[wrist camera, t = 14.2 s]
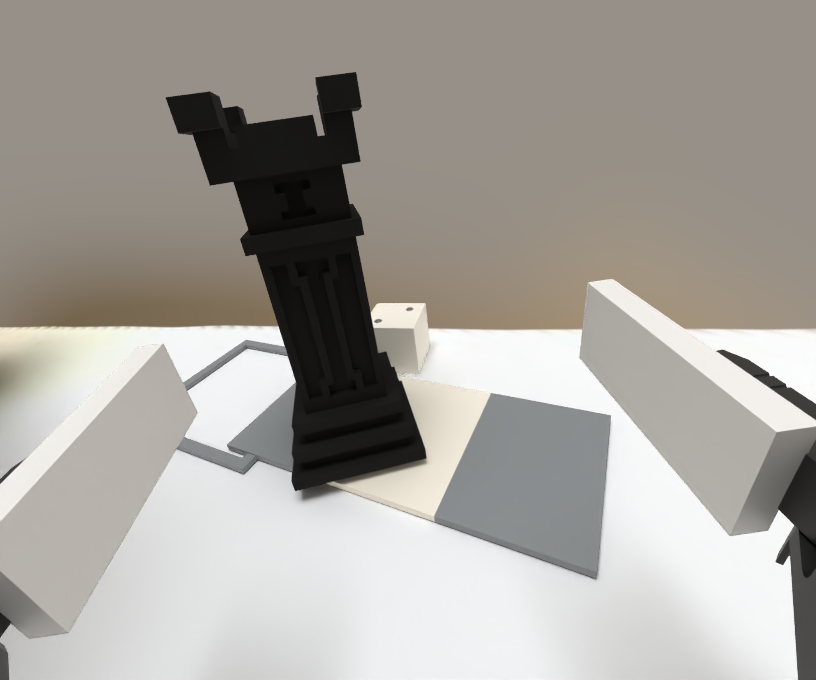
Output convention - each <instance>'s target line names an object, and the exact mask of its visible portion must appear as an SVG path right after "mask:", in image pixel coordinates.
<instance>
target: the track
mask: <svg viewBox="0 0 816 680" xmlns="http://www.w3.org/2000/svg"><path fill="white" fill-rule="evenodd" d="M398 379H399V381H401V380H402V383H403V386H404V389H405V392H406V395H407V398H408V400H409V403H410V406H411V409H412V412H413V415H414V418H415V420H416V423H417V426H418V429H419V432H420V435H421V438H422V441H423V443H424V446H425V450H426V457H427V458H426V459H422V460H418V461H414V462H410V463H406V464H402V465H398V466H394V467H390V468H386V469H382V470H378V471H374V472H370V473H366V474H362V475H358V476H354V477H350V478H346V479H342V480H338V481H334V482H330V483H326V484H328V485H331V486H334V487H336V488H339V489H342V490H345V491H348V492H351V493H354V494H356V495H359V496H362V497H365V498H368V499H371V500H373V501H376V502H379V503H382V504H385V505H388V506H391V507H393V508H396V509H399V510H402V511H405V512H408V513H410V514H413V515H416V516H419V517H422V518H425V519H428V520H430V521H433V522H436V523H439V524H442V525H445V526H447V527H450V528H453V529H456V530H459V531H462V532H465V533H467V534H470V535H473V536H476V537H479V538H482V539H484V540H487V541H490V542H493V543H496V544H499V545H502V546H504V547H507V548H510V549H513V550H516V551H519V552H521V553H524V554H527V555H530V556H533V557H536V558H539V559H541V560H544V561H547V562H550V563H553V564H556V565H558V566H561V567H564V568H567V569H570V570H573V571H576V572H578V573H581V574H584V575H587V576H590V577H593V578H595V579H596V576H597V570H598V559H599V547H600V535H601V524H602V512H603V501H604V489H605V477H606V466H607V454H608V443H609V431H610V419H611V415H606V414H600V413H595V412H590V411H584V410H579V409H574V408H568V407H563V406H558V405H552V404H547V403H541V402H536V401H531V400H525V399H520V398H515V397H509V396H504V395H499V394H493V393H488V392H483V391H477V390H472V389H467V388H461V387H456V386H451V385H445V384H440V383H435V382H429V381H424V380H419V379H413V378H408V377H402V376H398ZM295 389H296V383H295V384H294V385H293V386H291V387H290V388H289V389H288V390H287V391H286V392H285V393H284V394H283V395H281V396H280V397H279V398H278V399H277V400H276V401H275V402H274V403H273V404H272V405H270V406H269V407H268V408H267V409H266V410H265V411H264V412H263V413H262V414H260V415H259V416H258V417H257V418H256V419H255V420H254V421H253V422H252V423H251V424H249V425H248V426H247V427H246V428H245V429H244V430H243V431H242V432H241V433H239V434H238V435H237V436H236V437H235V438H234V439H233V440H232V441H231V442H229V443H228V444H227V446H228V448H229V450H231V451H234V452H237V453H240V454H243V455H246V454H247V453H250V454H252V455H255V456H256V457H257V459H258V460H260V461H262V462H265V463H268V464H271V465H274V466H277V467H280V468H282V469H285V470H288V471H291V472H292V470H293V457H292V444H293V433H294V432H293V429H292V417H293V408H294V398H295Z"/></svg>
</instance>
